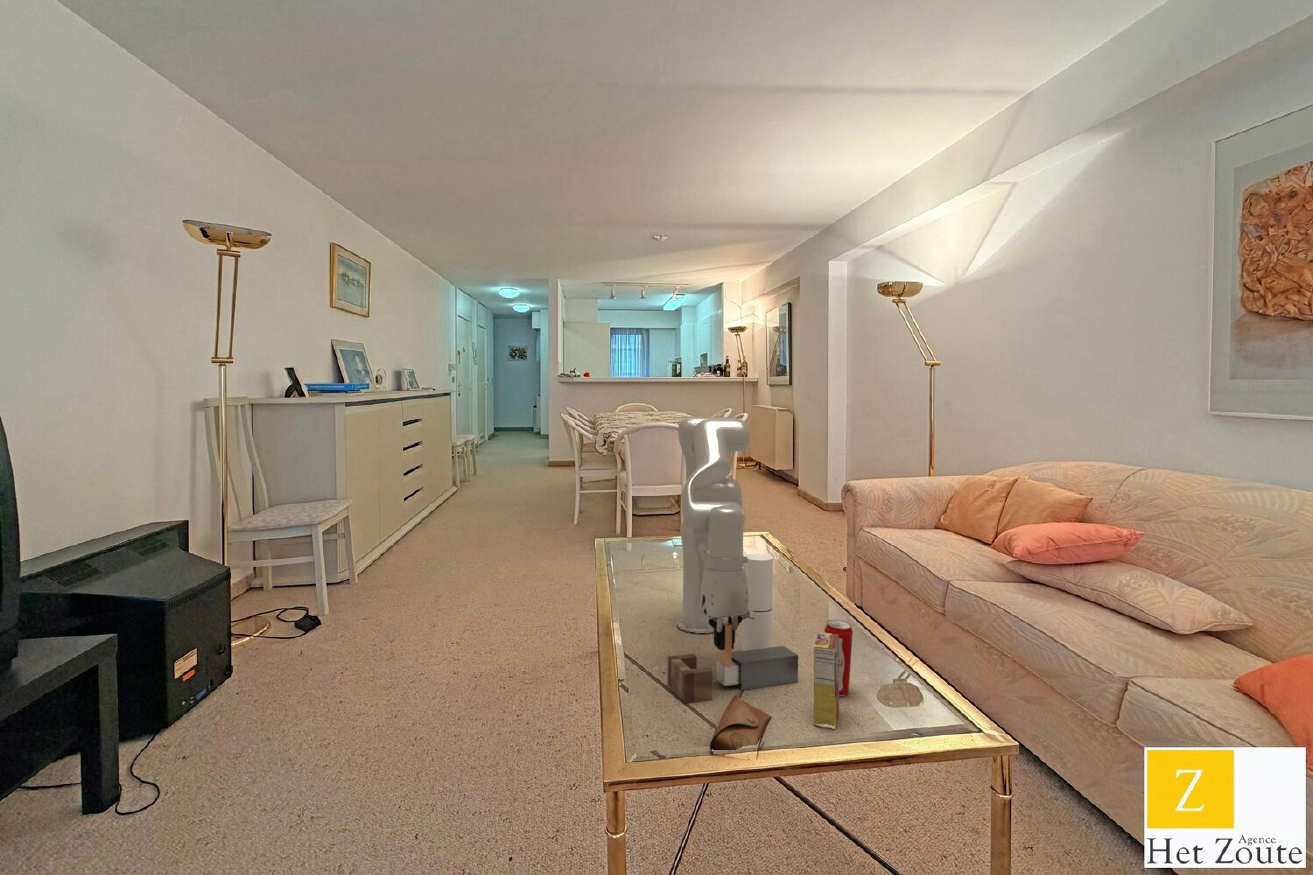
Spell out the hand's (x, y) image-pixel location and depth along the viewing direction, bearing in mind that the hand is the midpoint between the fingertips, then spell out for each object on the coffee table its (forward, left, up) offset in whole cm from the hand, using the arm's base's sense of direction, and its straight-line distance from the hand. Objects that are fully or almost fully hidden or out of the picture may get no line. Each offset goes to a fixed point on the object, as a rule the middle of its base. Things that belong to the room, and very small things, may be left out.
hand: (724, 646), depth 128 cm
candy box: (+19, +13, -9) cm, 25 cm away
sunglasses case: (+19, -5, -9) cm, 22 cm away
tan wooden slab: (0, +6, -8) cm, 10 cm away
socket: (0, -8, -9) cm, 12 cm away
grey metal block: (0, +10, -9) cm, 13 cm away
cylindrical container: (-12, +15, -9) cm, 21 cm away
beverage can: (+10, +22, -9) cm, 26 cm away
